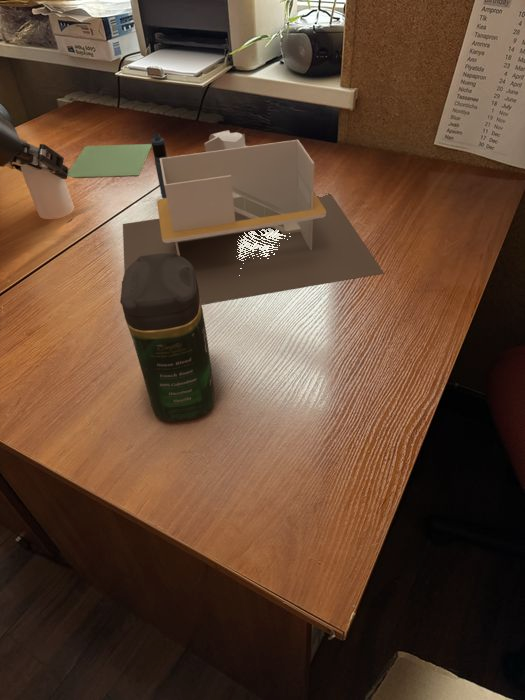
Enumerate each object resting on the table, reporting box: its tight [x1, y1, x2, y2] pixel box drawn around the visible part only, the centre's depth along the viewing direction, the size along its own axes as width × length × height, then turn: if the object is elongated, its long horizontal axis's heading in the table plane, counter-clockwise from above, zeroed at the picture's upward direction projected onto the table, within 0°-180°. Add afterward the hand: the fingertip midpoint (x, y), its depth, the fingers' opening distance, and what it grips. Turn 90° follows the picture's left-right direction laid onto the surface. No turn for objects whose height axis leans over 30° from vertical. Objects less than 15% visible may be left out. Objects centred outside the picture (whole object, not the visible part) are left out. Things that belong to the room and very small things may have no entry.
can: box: [20, 156, 75, 224], centre depth 91 cm, size 6×6×12 cm
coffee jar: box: [119, 253, 215, 423], centre depth 56 cm, size 10×8×19 cm
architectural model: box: [156, 139, 327, 253], centre depth 80 cm, size 26×13×15 cm, turn 102°
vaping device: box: [150, 133, 173, 198], centre depth 95 cm, size 3×5×12 cm, turn 54°
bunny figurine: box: [203, 129, 248, 152], centre depth 109 cm, size 10×5×15 cm
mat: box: [67, 143, 153, 179], centre depth 113 cm, size 16×16×1 cm
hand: (48, 171), depth 91 cm, fingers closed on can, 6 cm apart
